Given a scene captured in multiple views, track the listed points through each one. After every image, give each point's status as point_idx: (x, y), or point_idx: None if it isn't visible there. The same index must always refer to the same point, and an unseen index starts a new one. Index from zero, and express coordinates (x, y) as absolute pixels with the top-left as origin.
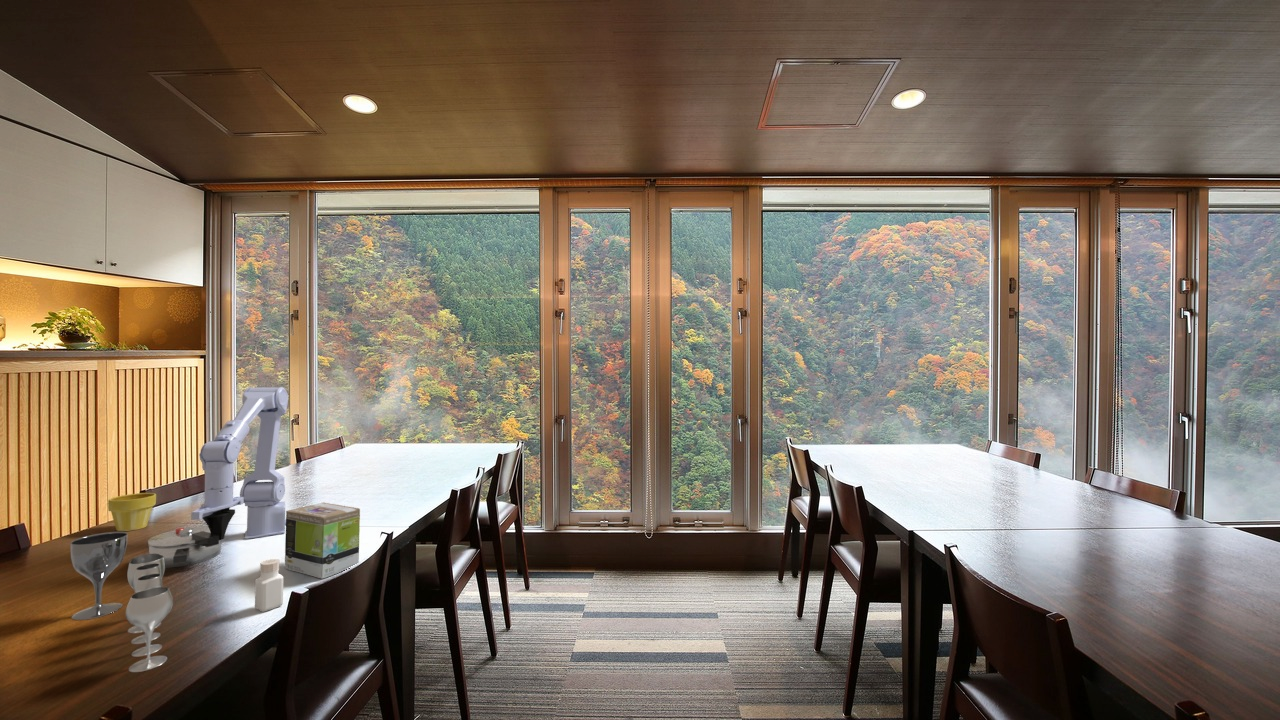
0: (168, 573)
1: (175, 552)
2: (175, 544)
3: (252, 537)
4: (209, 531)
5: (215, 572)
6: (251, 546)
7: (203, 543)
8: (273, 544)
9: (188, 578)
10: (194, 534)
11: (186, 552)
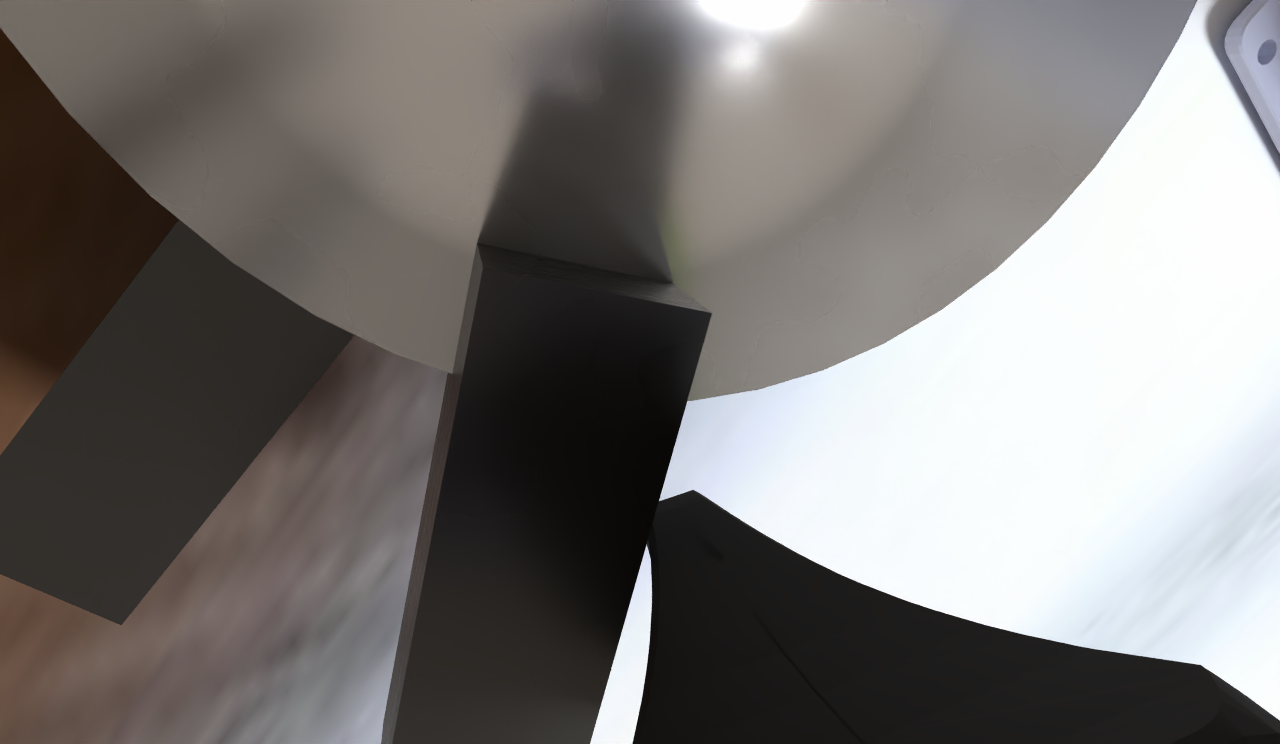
0: (99, 289)
1: (93, 335)
2: (147, 175)
3: (1254, 92)
4: (951, 75)
5: (352, 715)
6: (1013, 329)
7: (400, 648)
8: (1065, 477)
9: (122, 655)
10: (458, 392)
11: (191, 510)
